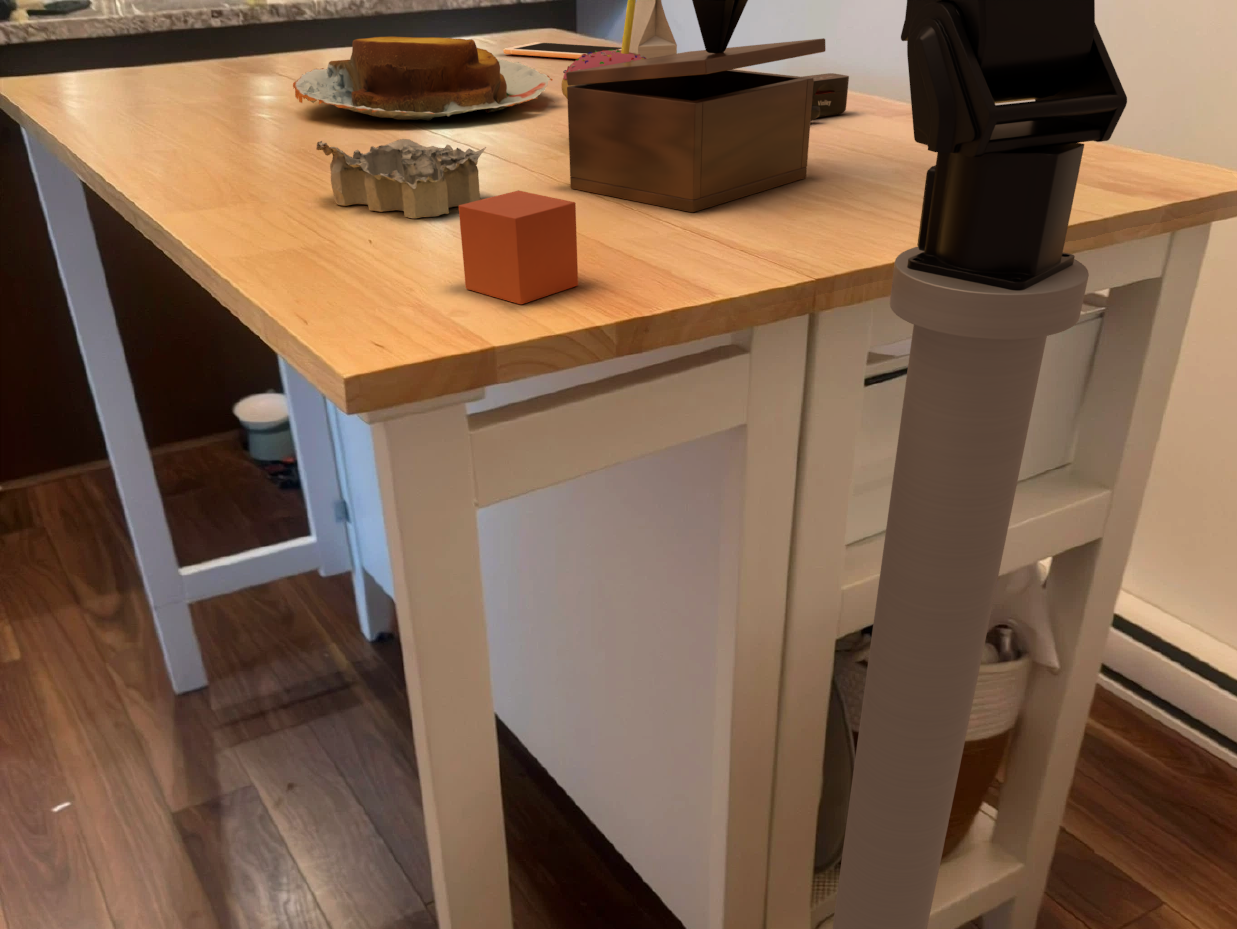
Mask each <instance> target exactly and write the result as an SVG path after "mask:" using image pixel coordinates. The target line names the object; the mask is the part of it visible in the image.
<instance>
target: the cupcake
mask: <svg viewBox="0 0 1237 929" xmlns="http://www.w3.org/2000/svg"><path fill="white" fill-rule="evenodd" d="M636 2H637V0H627V3H626V11H625V19H624V28H623V34H622V37H623V41H622V40H621V47H622V49H621V50H619V49H616V50H613V49H610V50H608V51H604V50H603V51H600V52H597V51H595V53H592V52H589V53H588V54H582V56H580V57H579V58H578V59H575V60H574V61H573V62H572V63H571V64H570V65H568V66H567V68H566V69H565V70H563V71H562V73H563V77H562V79H561V86H560V87H561V93H562V94H563V96H564V97H565V99H567V87H568V86H573V85H568V84H567V76H566V73H567V72H570V71H576V70H582V69H588V68H594V67H600V66H606V65H612V64H618V63H624V62H630V61H636V60H642V59H647V58H645V57H644V56H643V55H640V54H637V53H631V52H629V49H630V41H631V34H632V26H633V19H634V11H635V5H636Z"/></svg>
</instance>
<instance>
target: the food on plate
mask: <svg viewBox="0 0 1237 929" xmlns="http://www.w3.org/2000/svg"><path fill="white" fill-rule="evenodd" d="M351 50H352V51H351V55H350V59H339V60H338V59H337V60H331V61H328V64H327V67H326V68H324V67H322V68H313V69H311V70H310V71H309V70H308V71H305V73H302V74H301V76H300V77H299V78H298V79H297V80H295V81H293V83H292V87H293V88H292V90H293V89H294V94H295V95H294V97H295V98H296V99H297V100H298V103H301V104H303V100H305V99H306V100H307V101H309V102H310V103H313V104H315V103H316V102H317V101H318V104H319V105H321V104H322V103H323V104H325V105H333V106H335V107H336V109H344V110H348V111H351V112H356V113H360V114H363V115H369V116H370V117H371V116H372V117H376V118H385V119H386V118H387V119H393V120H401V121H405V120H409V121H410V120H413V121H417V120H423V121H427V122H429V121H431V120H432V119H435V118H439V117H440V118H441V117H445V116H447V117H450V116H452V115H459V114H464V113H468V112H469V113H470V112H473V111H477V110H485V111H484V112H485V113H493V112H498V111H500V110H504V109H506V108H508V107H513V106H515V105H520V104H522V103H525V102H529V101H533V100H538V96H539V95H541V94H542V92H545V91H546V90H547V89H546V88H547V87H548V85H549V81H550V82H553V78H551V77H550V75H548V74H546V73H542V72H540V71H538V70H537V69H536V68H534V67H531V66H528V65H526V64H525V63H521V62H519V61H510V60H506V59H502V58H497V57H496V56H495V55H494V54H493V53H492V52H490V51H488V50H487V49H484V48H480V47H477V44H476V41H475V40H474V39H472V38H468V39H465V38H453V37H434V36H431V37H413V36H412V37H409V36H374V37H367V38H356V39H353V40H352V49H351ZM553 103H555V101H554V100H553Z"/></svg>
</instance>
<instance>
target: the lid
mask: <svg viewBox="0 0 1237 929" xmlns="http://www.w3.org/2000/svg"><path fill="white" fill-rule="evenodd" d="M826 51H827V50H826V38H814V39H804V40H794V41H782V42H773V43H763V44H752V45H742V46H733V47H727V48H726V50H725V51H724V52H722V53H716V54H715V53H708V52H707V51H706V49H700V50H689V51H684V52H677V54H671V55H666V56H660V57H654V58H648V59H642V60H636V61H630V62H624V63H618V64H612V65H606V66H600V67H594V68H588V69H582V70H576V71H570V72H567V73H566V76H567V84H568V85H581V84H594V83H606V82H618V81H631V80H643V79H655V78H668V77H680V76H693V75H705V74H711V73H716V72H721V71H727V70H732V69H733V70H738V69H742V68H746V67H754V66H757V65H764V64H768V63H773V62H778V61H784V60H789V59H794V58H800V57H806V56H810V55H815V54H821V53H825V52H826Z"/></svg>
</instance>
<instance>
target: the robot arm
mask: <svg viewBox="0 0 1237 929" xmlns="http://www.w3.org/2000/svg"><path fill="white" fill-rule="evenodd" d="M691 2H692V5H693V8H694V12H695V16H696V20H697V23H698V27H699V31H700V34H701V38H702V41H703V46H704V50H706V51H707V52H708V53H715V54H716V53H722V52H724V51H725V50H726V48H728V45H729V44H730V41H731V39H732V37H733V34H734V32H735V30H736V28H737V26H738V24H739V21H740V19H741V17H742V15H743V12H744V10H745V9H746V6H747V3H748V2H749V0H691ZM1095 2H1096V1H1095V0H906V6H905V16H904V21H903V26H902V30H901V34H900V40H901V42H906V55H907V68H908V69H907V70H908V79H909V92H910V104H911V115H912V116H911V117H912V129H913V139H914V142H915V143H918V144H922V145H923V146H927V151H930V152H934V153H936V162H935V164H934V165H932V166H930V167H929V168H928V169H927V171H926V176H925V184H924V189H923V190H924V192H923V197H922V206H921V214H920V220H919V228H918V229H919V230H918V236H917V244H916V247H918V248H919V250H921V251H924V252H922V253H920V254H918V255H915V256H913V257H911V258H909V259H908V265H907V268H909V269H912V270H917V271H922V272H926V273H931V274H936V275H941V276H946V277H951V278H956V279H960V280H965V281H970V282H975V283H980V284H985V285H989V286H994V287H999V288H1004V289H1009V290H1016V291H1019V290H1025V289H1027V288H1029V287H1031V286H1032V285H1034V284H1036V283H1038V282H1040V281H1042V280H1044V279H1046V278H1048V277H1050V276H1052V275H1054V274H1056V273H1058V272H1060V271H1062V270H1064V269H1065V268H1067V267H1069V266H1071V265H1073V262H1074V259H1076V258H1075V257H1076V256H1075V255H1074V254H1073V253H1068V252H1064V249H1065V243H1066V238H1067V233H1068V228H1069V224H1070V218H1071V213H1072V208H1073V203H1074V199H1075V193H1076V189H1077V183H1078V179H1079V173H1080V169H1081V165H1082V164H1081V163H1082V160H1083V154H1084V150H1085V143H1086V142H1087V143H1088V142H1096V143H1101V142H1108V141H1109V140H1111V138H1112V135H1113V134H1114V132H1115V129H1116V128H1117V126H1118V123H1119V121H1120V119H1121V117H1122V116H1123V113H1124V111H1125V109H1126V107H1127V104H1128V97H1127V94H1126V92H1125V90H1124V87H1123V85H1122V83H1121V80H1120V78H1119V75H1118V72H1117V70H1116V69H1115V66H1114V64H1113V61H1112V59H1111V57H1110V54H1109V52H1108V50H1107V46H1106V45H1105V43H1104V40H1103V38H1102V35H1101V33H1100V31H1099V29H1098V26H1097V24H1096V11H1095V10H1096V6H1095V4H1096V3H1095Z"/></svg>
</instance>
